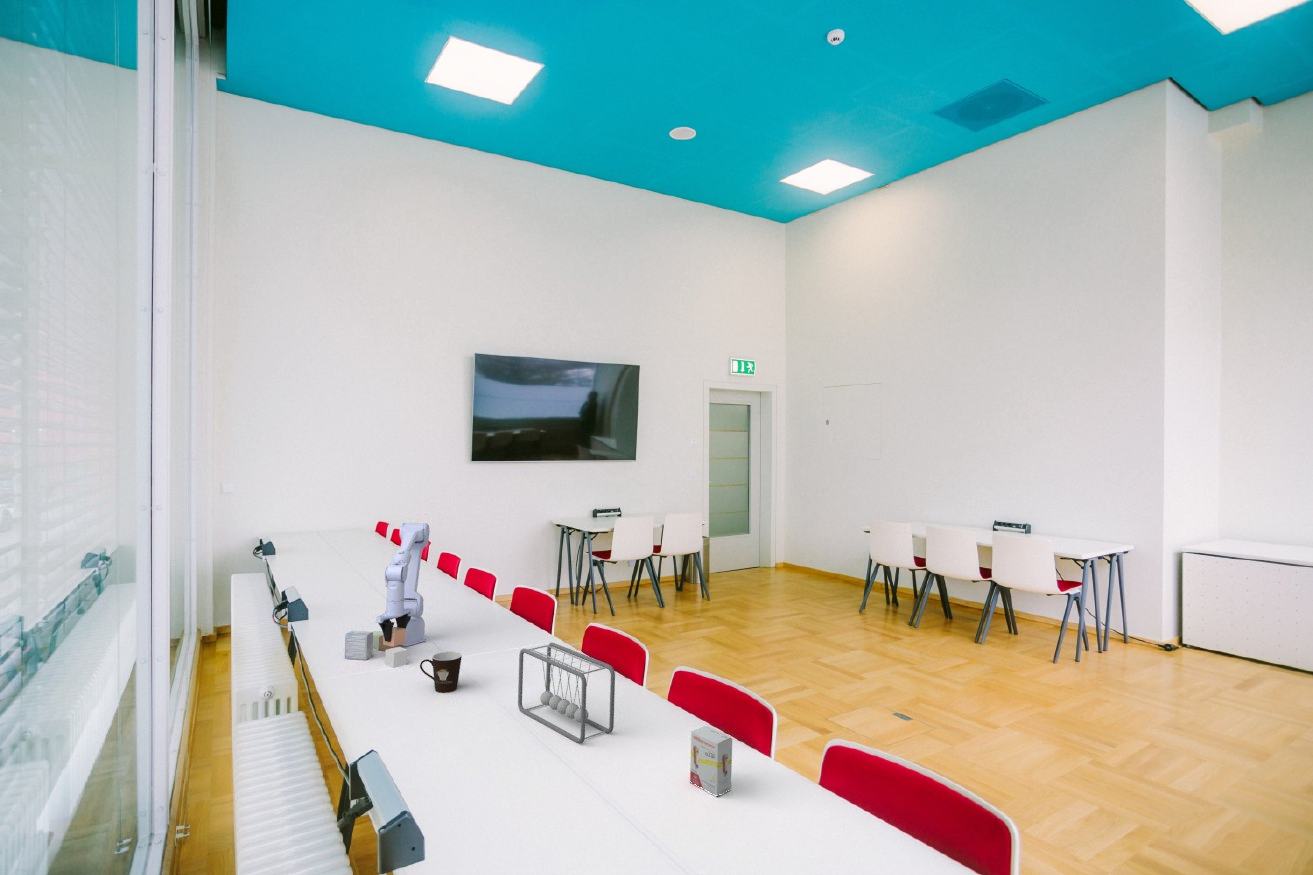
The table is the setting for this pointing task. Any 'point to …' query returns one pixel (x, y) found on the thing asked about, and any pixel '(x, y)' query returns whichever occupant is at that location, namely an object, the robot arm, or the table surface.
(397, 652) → the pale grey block
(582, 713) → the newton's cradle
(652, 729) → the table surface
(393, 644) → the terracotta block
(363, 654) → the medicine box
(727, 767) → the ink box
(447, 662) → the coffee mug
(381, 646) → the walnut block
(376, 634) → the sage block
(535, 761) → the table surface
